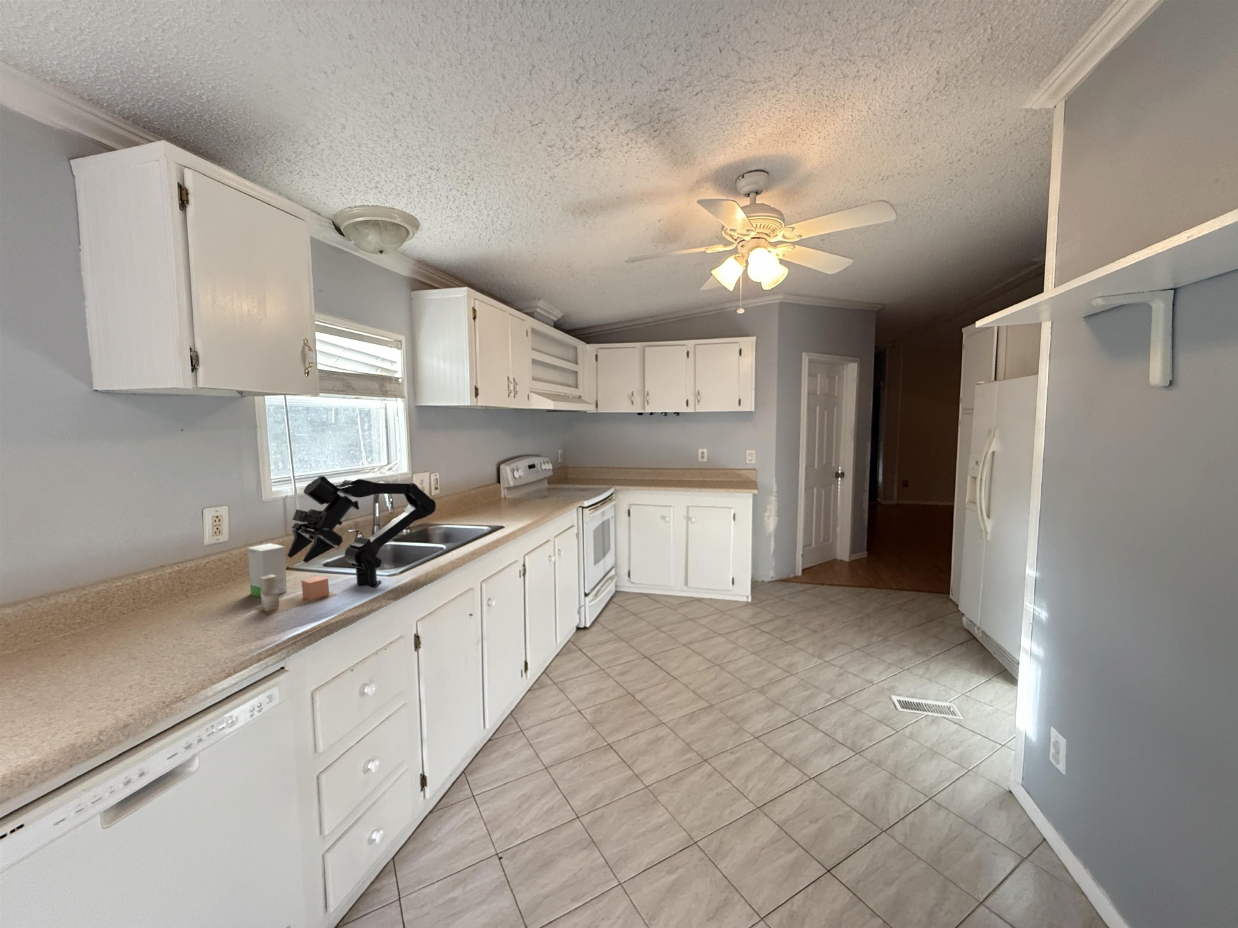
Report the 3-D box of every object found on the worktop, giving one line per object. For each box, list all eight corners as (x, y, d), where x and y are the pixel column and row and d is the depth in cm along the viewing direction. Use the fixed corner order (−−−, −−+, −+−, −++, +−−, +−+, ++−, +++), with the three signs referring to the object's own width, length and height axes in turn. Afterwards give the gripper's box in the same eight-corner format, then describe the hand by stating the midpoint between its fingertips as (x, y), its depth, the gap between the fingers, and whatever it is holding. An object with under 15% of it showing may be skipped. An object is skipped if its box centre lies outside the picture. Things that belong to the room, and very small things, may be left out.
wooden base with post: (323, 593, 149) (321, 560, 148) (338, 598, 144) (335, 564, 143) (253, 612, 134) (250, 576, 133) (267, 619, 129) (264, 581, 128)
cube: (321, 591, 146) (319, 575, 146) (329, 594, 143) (327, 578, 143) (302, 597, 142) (301, 580, 142) (310, 600, 139) (309, 583, 139)
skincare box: (250, 598, 146) (245, 547, 145) (274, 591, 152) (270, 542, 151) (265, 602, 142) (260, 550, 141) (289, 595, 148) (285, 545, 147)
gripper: (295, 495, 146) (256, 540, 138) (327, 500, 136) (287, 549, 128) (325, 516, 153) (290, 559, 145) (358, 522, 143) (321, 570, 135)
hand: (296, 559), depth 138 cm, fingers open, 9 cm apart
